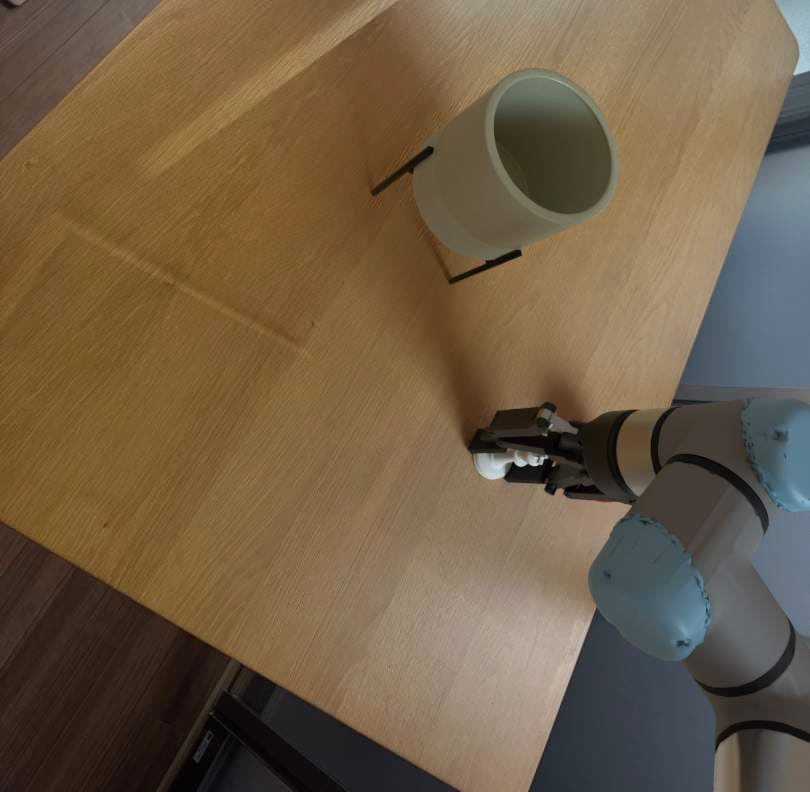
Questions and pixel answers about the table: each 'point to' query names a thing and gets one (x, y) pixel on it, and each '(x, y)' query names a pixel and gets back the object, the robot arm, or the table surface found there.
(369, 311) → the table surface
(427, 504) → the table surface
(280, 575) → the table surface
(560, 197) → the planter
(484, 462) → the chess piece
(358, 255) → the table surface
